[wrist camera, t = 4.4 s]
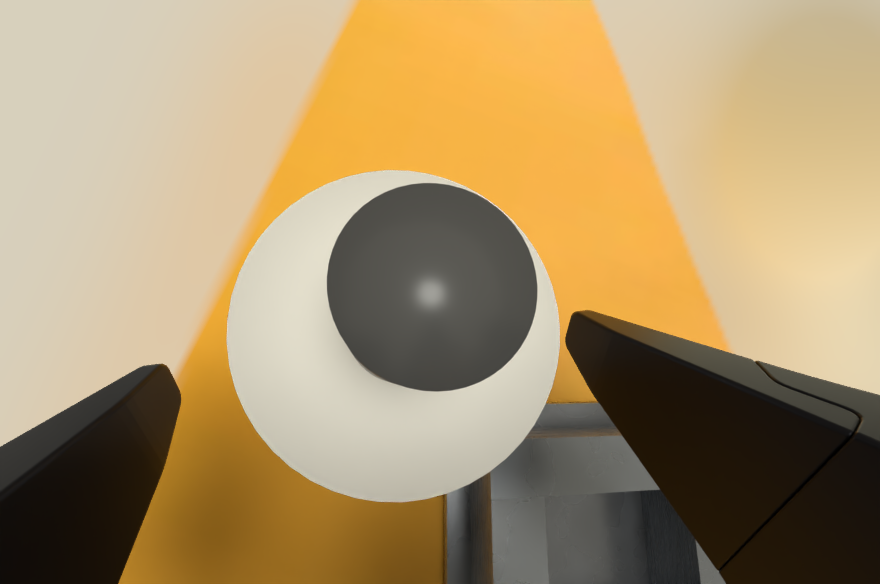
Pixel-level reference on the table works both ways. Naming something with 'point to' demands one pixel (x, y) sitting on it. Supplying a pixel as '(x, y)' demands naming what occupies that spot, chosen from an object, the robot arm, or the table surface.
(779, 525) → the robot arm
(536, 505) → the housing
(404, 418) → the white bottle
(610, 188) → the table surface
